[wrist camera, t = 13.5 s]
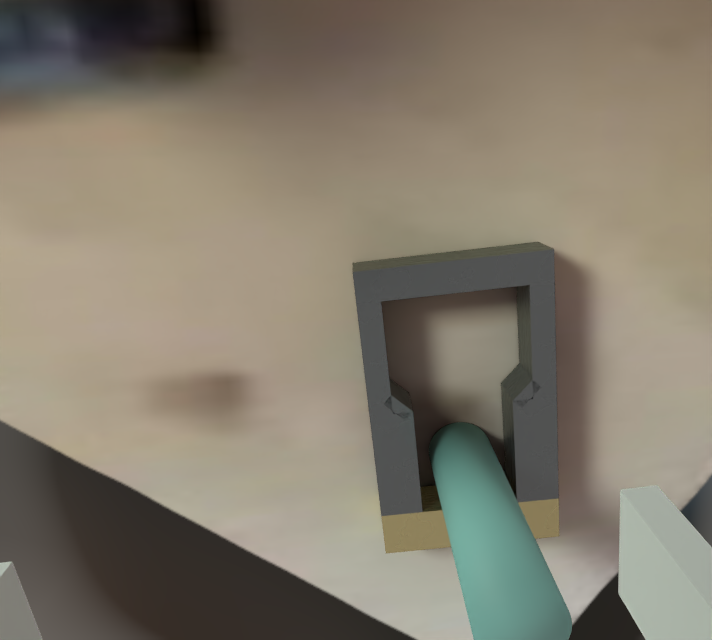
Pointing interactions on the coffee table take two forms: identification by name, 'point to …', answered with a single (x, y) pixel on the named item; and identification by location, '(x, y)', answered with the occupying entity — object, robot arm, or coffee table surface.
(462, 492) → the peg
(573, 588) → the coffee table surface
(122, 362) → the coffee table surface
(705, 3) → the coffee table surface
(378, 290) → the keyhole plate
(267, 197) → the coffee table surface
